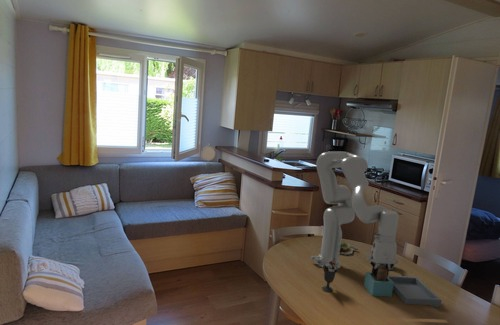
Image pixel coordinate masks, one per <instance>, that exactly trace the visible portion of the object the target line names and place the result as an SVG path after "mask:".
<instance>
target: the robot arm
mask: <svg viewBox="0 0 500 325" xmlns="http://www.w3.org/2000/svg"><path fill="white" fill-rule="evenodd" d="M368 165H369V164H368V162H367V160H366V158H364V157H363V156H361V155H360V156H359V155H357V154H354V153H351V152H348V151H338V150H337V151H335V150H334V151H324V152H322V153H321V154H319V155H318V157H317V159H316V164H315V166H316V167H315V168H316V171H317V175H318V178H319V181H320V188H321V194H322V198H323V201H324V203H325V204H328V205H334V204H337V205H335V206H330V207H327V208H326V209H325V210H324V212H323V218H322V219H323V231H322V232H323V233H322V240H321V248H320V253H318V255H310V260H314V262H316V264H317V265H318V266H319V268H322V269H323V266H324V265H326V264H327V263H329V262H330V261H332V260H333V261H332V263H333V262H334V263H335V266H336V269H338V270H339V269H340V268H342V264H341V262H340V261H339V260H340V254H339V253H341V251H340V246H341V243H342V238H343V231H342V228H341V226H342V225H344V224H349V223H352V222H353V221H354V219H355V216H356V217H357V218H358V220H360V222H362V223H363V224H371V223H378V228H377V233H376V234H374V236H373V237H374V238H375V239H374V241H373V243H372V246H371V250H370V255H369V256H367V258H366V261H367V262H368V263H369V264H370V265H371V266H372V269H371V272H372V274H373V275H374V277H376V276H377V270H378V269H377V266H378V264H385V267H386V268H387V269H388V272H387V276H389V274H390V273H389V272H390V270H389V269H391V267H392V266H393V265H394V266H395V265H396V264H398V262H399V261H398V260H397V241H396V235H397V230H398V225H399V217H400V216H399V213H398V212H397V211H395V210H391V209H388V208H386V207H385V206H382V205H380V204H374V205H368V204H367V203H366V200H365V198H364V191H365V189H367V188H368V186H369V181H368V179H367V176H366V175H365V172H367V171H368V167H369V166H368ZM334 168H335V169H337V168H338V169H339V168H340V169H341V172H342V173H343V174H344V177H345V179H346V181H347V182H348V185H349V187H350V189H349V187H348V186H346V185H345V184H338V179H337V176H336V174H335V172H334V171H333V170H332V169H334ZM334 258H335V259H334ZM391 270H392V269H391Z"/></svg>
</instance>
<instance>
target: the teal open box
mask: <svg viewBox="0 0 500 325" xmlns="http://www.w3.org/2000/svg"><path fill="white" fill-rule="evenodd" d="M372 276H373V274H372V271H371V272H370V271H365V277H364V282H363V286H364V287H365V288H366V290H367V291H368V293H370V295H371V296H372V297H374V296H375V297H376V296H377V297H393V296H392V295H393V285H394V283H393V282H392V280H391V279H390V278H389V277H388V276H389V275H388V276H387V278H386V281H375V279H374V278H373V277H372Z"/></svg>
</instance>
